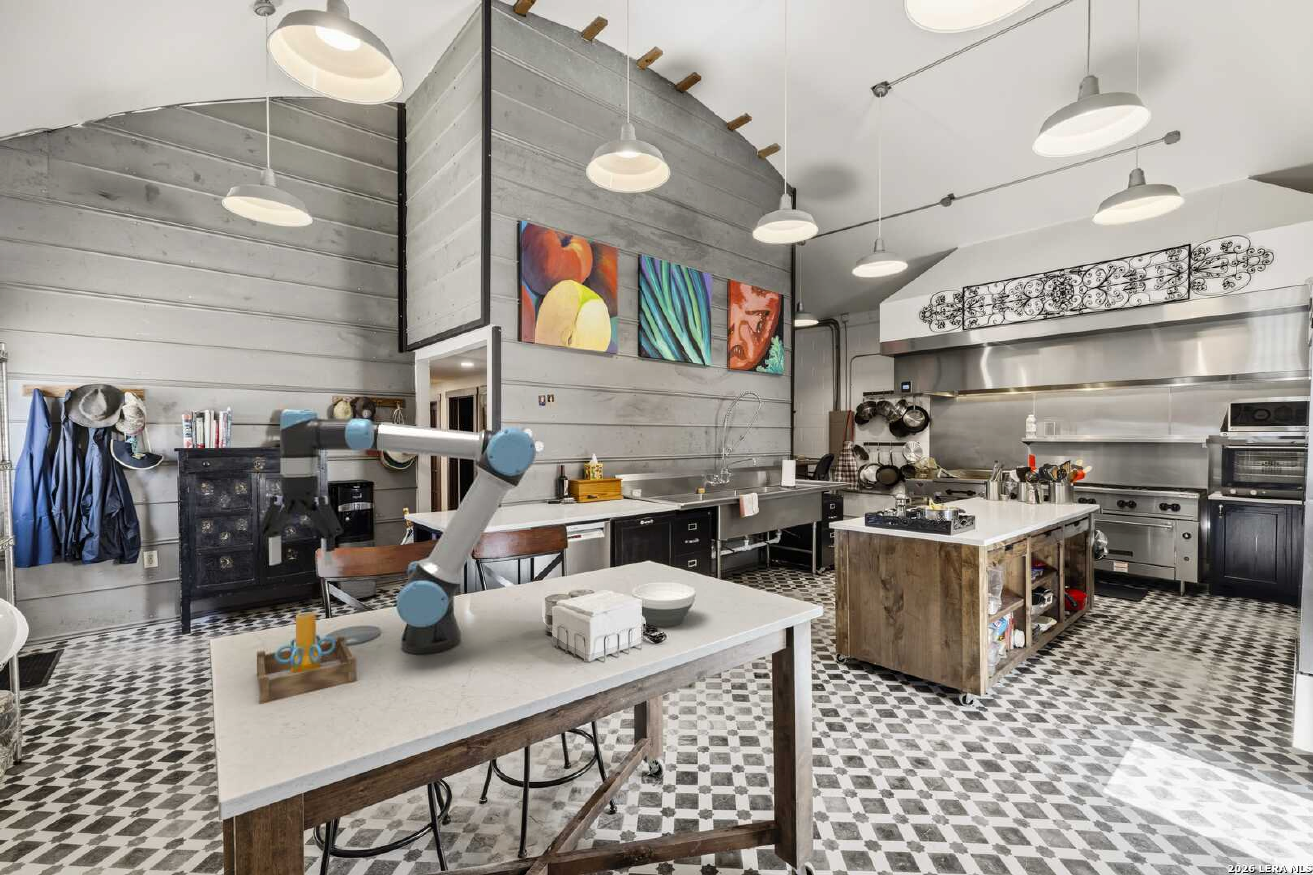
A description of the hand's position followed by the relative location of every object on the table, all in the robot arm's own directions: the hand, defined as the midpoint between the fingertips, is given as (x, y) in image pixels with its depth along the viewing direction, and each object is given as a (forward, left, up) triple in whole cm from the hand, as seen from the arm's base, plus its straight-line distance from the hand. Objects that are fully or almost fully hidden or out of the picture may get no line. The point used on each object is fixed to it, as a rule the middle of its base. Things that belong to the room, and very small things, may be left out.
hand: (301, 564), depth 133 cm
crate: (-2, +1, -27) cm, 27 cm away
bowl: (-81, -50, -27) cm, 99 cm away
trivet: (+5, -25, -27) cm, 37 cm away
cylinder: (-2, +1, -27) cm, 27 cm away
